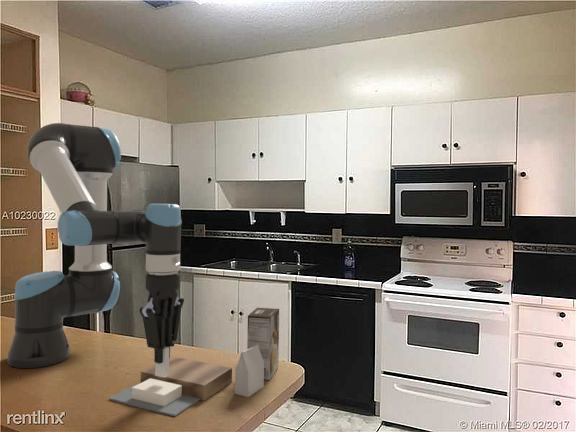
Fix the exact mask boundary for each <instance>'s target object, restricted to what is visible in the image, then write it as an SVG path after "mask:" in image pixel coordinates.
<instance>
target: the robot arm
mask: <svg viewBox="0 0 576 432" xmlns="http://www.w3.org/2000/svg"><path fill="white" fill-rule="evenodd" d="M121 151H122V150H121V145H120V141H119V139H118V137H117V135H116V134H115V132H113V131H112V130H110V129H108V128H103V127H99V126H87V125H78V124H68V123H63V122H55V123H54V122H53V123H50V124H46V125H43V126H41V127H39V128H38V129H37V130H36V131H35V132H34V133H33V134H32V135H31V137H30V138H29V140H28V143H27V146H26V153H27V158H28V160H29V163H30V165H31V166H32V168H34V169H35V170H36V171H38V172H39V173H40V175H41V176H42V178H43V181H44V183H45V184H46V186H47V189H48V190H49V192H50V194H51V196H52V198H53V200H54V202H55V203H56V206H57V208H58V210H59V212H60V215H59V217H58V220H57V233H58V238H59V240H60V242H61V243H62V244H63V245H65V246H68V247H70V246H71V247H72V246H74V261H73V263H72V264H71V266H69V267H68V274H67V275H65V274H64V273H63V272H62V271H61V270H49V271H47V270H46V271H41V272H35V273H32V274H28V275H24V276H23V277H21V278H19V279H18V280H17V281H16V282H15V287H14V295H13V298H14V335H13V338H12V341H11V344H10V347H9V350H8V352H7V356H6V357H7V358H6V362H8V363H7V365H8V364H9V365H8V366H10V365H11V366H10V367H12V366H14V367H13V368H17V369H18V368H19V369H35V368H44V367H47V366H48V367H49V366H52V365H57V364H58V363H59V364H60V363H61V362H64V361H66V360H67V359H68V358H69V357H70V356H71V354H70V353H71V347H70V344H69V342H68V339H67V336H66V333H65V331H64V325H63V324H64V318H67V317H68V318H70V317H76V316H80V315H81V316H82V315H88V314H89V315H90V314H98V313H101V312H104V311H106V312H107V311H109V310H111V309H112V308H114V307H115V305H116V304H117V302H118V299H119V295H120V290H121V283H120V282H121V281H120V280H119V278H120V277H119V275H118V273H117V272H115V271H113V266H112V264H110V263H109V262H108V261H107V259H108V258H107V257H108V256H107V249H108V248H107V247H108V245H110V244H111V245H112V244H114V245H115V244H116V245H117V244H133V243H134V244H137V243H138V244H139V243H142V244H145V249H146V250H145V271H146V272H147V273H146V274H145V289H146V290H147V291H148V296H147V297H148V298H147V304H146V305H145V306H141V307H140V308H139V313H140V315H141V317H142V321H143V328H144V333H145V334H144V335H145V339H146V346H147V348H152V349H154V353H153V355H154V363H155V364H154V365H155V376H159V377H164V378H165V377H167V376H169V359H170V357H171V347H173V348H174V347H175V342H176V341H177V338H178V334H179V333H178V332H179V325H180V320H181V319H180V318H181V312H182V308H183V305H184V302H185V299H184V298H183V297H179V296H178V292H177V291H178V290H179V289H180V288H181V274H180V272H179V271H180V270H181V246H182V245H181V244H182V243H181V242H182V241H181V240H182V223H183V221H182V216H181V215H182V214H181V207H180V205H178V204H176V203H149V204H148V205H147V206H146V210H143V209H142V210H141V209H135V210H134V209H133V210H108V180H109V179H110V178H111V176H113V172H114V171H113V170H115V169H118V167H119V165H120V163H121V162H120V161H122V159H121V158H122V152H121Z"/></svg>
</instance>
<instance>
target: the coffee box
mask: <svg viewBox="0 0 576 432" xmlns="http://www.w3.org/2000/svg"><path fill="white" fill-rule="evenodd" d="M279 336H280V308H271V307H270V308H269V307H267V308H266V307H256V308H255V309H253V311H251V312H250V313H249V314H248V315H247V337H246V338H247V340H246V341H247V349H249V348H251V347H253V346H255V345H259V350H260V353H261V356H262V358H263V361H264V380H268V381H269V380H271V379H272V378H273V376H274V374H275V373H276V371H277V369H278V368H279V350H280V348H279V343H280V341H279V339H280V337H279ZM247 349H246V350H247Z"/></svg>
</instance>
